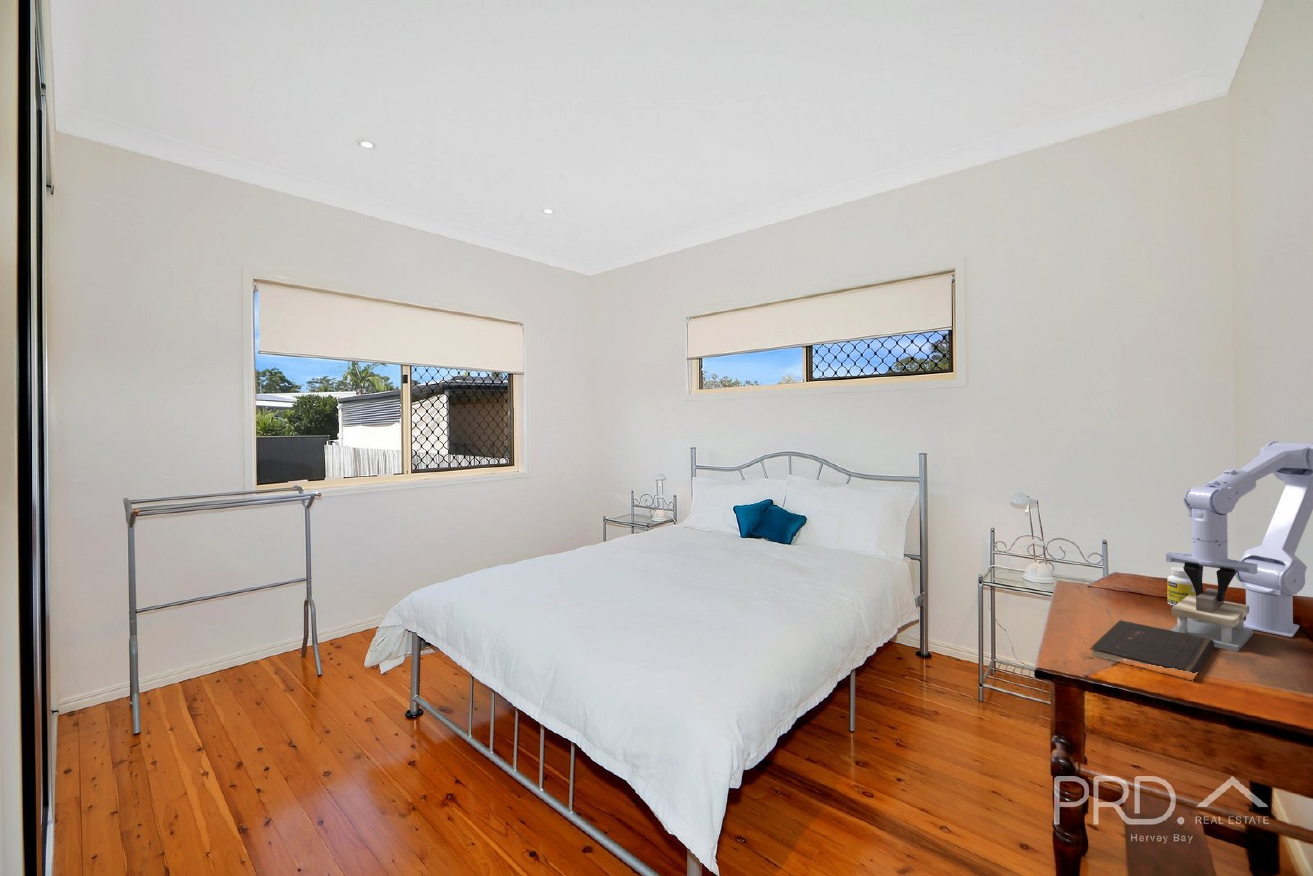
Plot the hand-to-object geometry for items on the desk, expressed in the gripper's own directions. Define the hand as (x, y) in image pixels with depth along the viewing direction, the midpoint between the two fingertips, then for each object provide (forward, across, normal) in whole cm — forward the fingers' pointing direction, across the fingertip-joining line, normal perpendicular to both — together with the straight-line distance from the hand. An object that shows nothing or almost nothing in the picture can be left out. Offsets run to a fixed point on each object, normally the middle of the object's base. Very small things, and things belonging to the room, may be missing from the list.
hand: (1210, 598), depth 124 cm
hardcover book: (+9, -5, -20) cm, 23 cm away
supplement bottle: (+9, -9, +19) cm, 23 cm away
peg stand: (+8, 0, 0) cm, 8 cm away
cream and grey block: (+3, 0, 0) cm, 3 cm away
